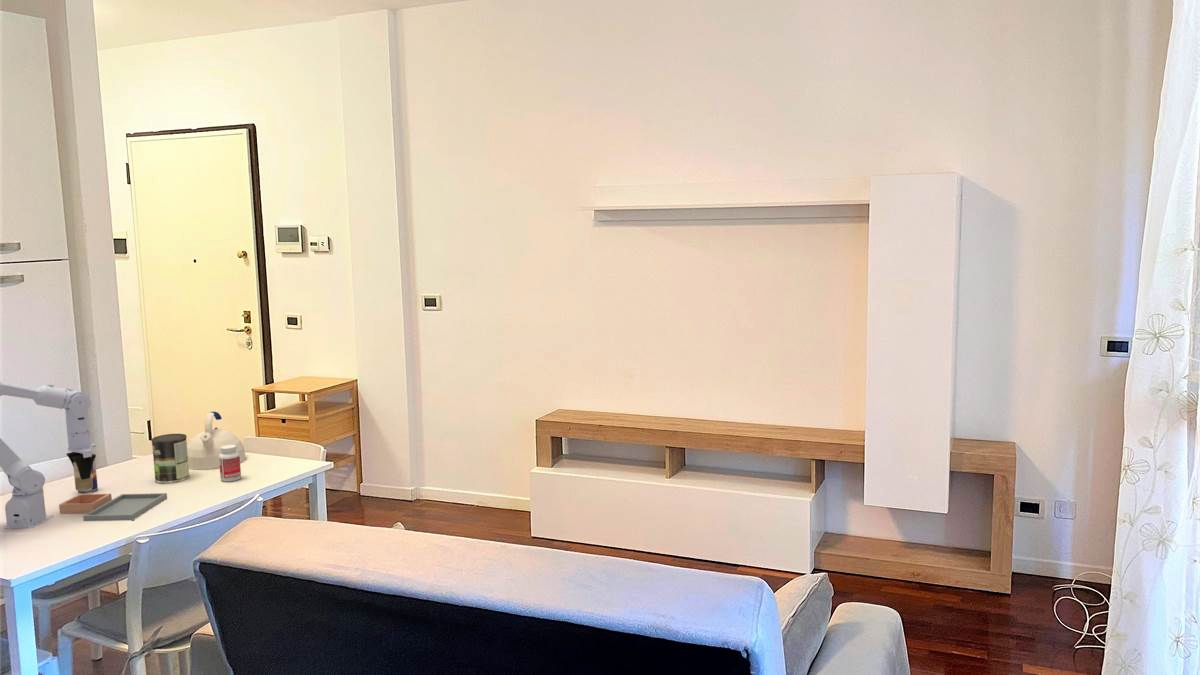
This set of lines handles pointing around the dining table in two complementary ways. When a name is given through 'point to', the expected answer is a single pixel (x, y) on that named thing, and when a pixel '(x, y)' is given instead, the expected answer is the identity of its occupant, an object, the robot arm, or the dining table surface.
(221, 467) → the pill bottle
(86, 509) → the square terracotta tray
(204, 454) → the kettle
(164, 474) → the coffee can
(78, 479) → the birch peg
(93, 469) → the energy drink
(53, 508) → the dining table surface
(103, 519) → the slate tray
